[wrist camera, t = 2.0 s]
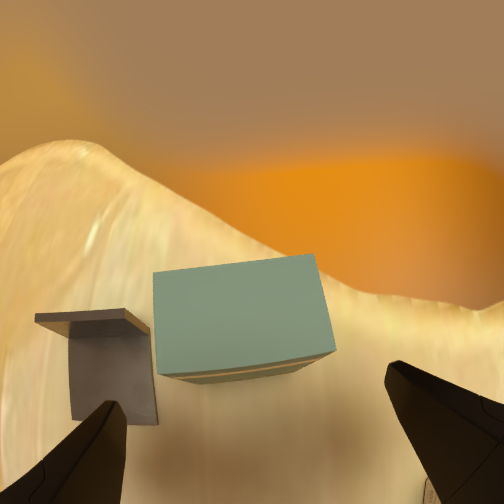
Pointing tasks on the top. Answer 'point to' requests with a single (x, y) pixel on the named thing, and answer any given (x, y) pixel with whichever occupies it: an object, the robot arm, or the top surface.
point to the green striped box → (240, 320)
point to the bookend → (107, 362)
